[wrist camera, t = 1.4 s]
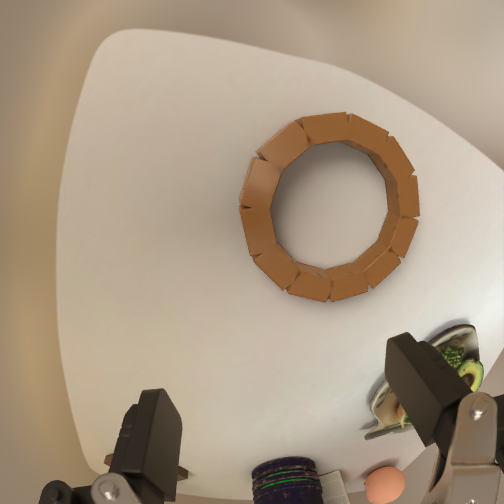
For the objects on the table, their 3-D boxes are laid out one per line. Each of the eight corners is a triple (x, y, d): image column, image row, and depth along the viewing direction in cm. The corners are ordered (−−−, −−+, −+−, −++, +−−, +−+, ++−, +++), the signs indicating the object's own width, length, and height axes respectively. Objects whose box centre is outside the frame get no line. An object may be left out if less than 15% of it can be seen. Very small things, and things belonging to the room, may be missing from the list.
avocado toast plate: (376, 446, 35) (386, 467, 30) (333, 400, 29) (345, 430, 25) (475, 374, 32) (490, 391, 28) (466, 301, 27) (490, 320, 22)
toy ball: (350, 481, 39) (361, 513, 31) (376, 460, 37) (391, 494, 29) (379, 478, 40) (391, 506, 33) (404, 457, 38) (419, 487, 31)
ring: (201, 202, 21) (198, 207, 19) (339, 82, 19) (349, 77, 17) (316, 318, 25) (323, 331, 23) (429, 215, 23) (442, 220, 21)
